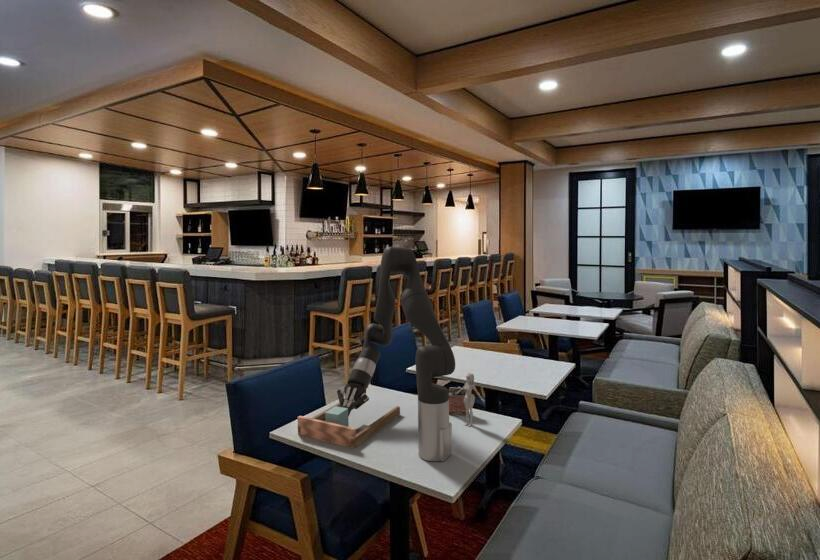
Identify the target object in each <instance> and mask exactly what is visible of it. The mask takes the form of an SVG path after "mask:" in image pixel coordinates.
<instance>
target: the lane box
mask: <svg viewBox="0 0 820 560" xmlns="http://www.w3.org/2000/svg"><path fill="white" fill-rule="evenodd" d="M335 406H337V407H343V406H342V405H341V404H340V403H339V402H338V403H336V404H334V405H332V406H331V407H329V408H327V409H325V410H323V411H322V412H320V413H317V415H314V416H312V417H309V416H308V417H307V416H303V415H299V416H297V435H298V436H303V437H307V438H310V439H315V440H318V441H324V442H328V443H330V444H331V443H332V444H335V445H339V446H344V447H348V448H351V449H355V448H356V447H358V446H359V445H361V444H362V443H364V442H365V441H366V440H367V439H369V438H370V437H371V436H373V435H374V434H376V433H377V432H379V431H380V430H382V428H384V427H385V426H387V425H388V424H390V423H391V422H392V421H393V420H394V419H396V418H397V417H398V416H400V415H401V407H400V406H398V405H397V406H395V407H394V408H392V409H391V410H389V411H388V412H385V414H383V415H381V416H380V417H379V418H378V419H376V420H375V421H374V422H372V423H370V424H369V425H368V427H366V428H365V429H363V430H362V431H360V432H359V433H357V434H356V429H357V428H356V427H352V426H349V427H348V426H344V425H339V424H335V423H330V422H326V421H325V412H327V411H329V410H330V409H332V408H333V407H335Z"/></svg>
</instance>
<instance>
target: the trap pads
mask: <svg viewBox="0 0 820 560" xmlns="http://www.w3.org/2000/svg"><path fill="white" fill-rule="evenodd" d="M368 426H369V425H368V424H367V425H366V424H362V425H361V426H359V427H358V428H356V434H357V433H359V432H360V431H362V430H363V429H365V428H366V427H368Z"/></svg>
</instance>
